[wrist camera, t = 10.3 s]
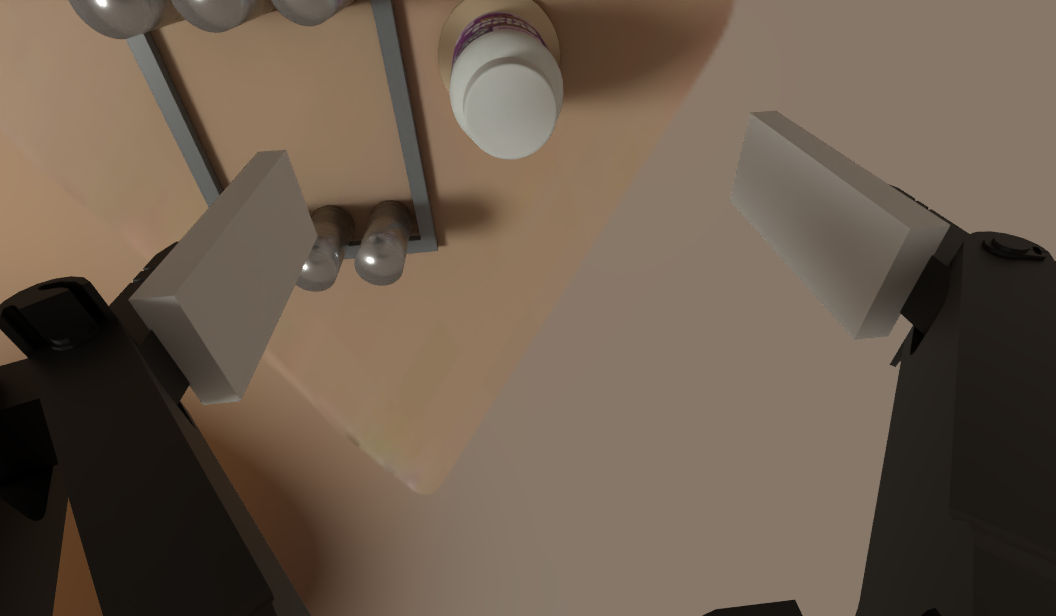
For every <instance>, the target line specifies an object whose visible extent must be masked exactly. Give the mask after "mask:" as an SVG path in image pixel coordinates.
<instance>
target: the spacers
mask: <svg viewBox="0 0 1056 616" xmlns="http://www.w3.org/2000/svg"><path fill="white" fill-rule="evenodd" d="M354 1H355V0H69V2H70V4H71V5H72V7H73V9H74V10H75V12H76V13H77V14H78V15H79V17H80V18H81V19H82V20H83V21H84V22H85V23H86V24H88V25H89V26H90V27H91V28H93V29H94V30H96V31H97V32H99V33H101V34H103V35H105V36H108V37H111V38H115V39H128V38H131V37H134V36H137V35H140V34H143V33H146V32H149V31H152V30H155V29H158V28H161V27H164V26H167V25H170V24H173V23H176V22H179V21H182V20H185V19H186V20H187V21H188V22H190V23H191V24H192V25H194V26H196V27H198V28H199V29H202V30H204V31H208V32H214V33H218V32H224V31H227V30H229V29H231V28H234V27H236V26H238V25H241V24H243V23H245V22H248V21H250V20H252V19H255V18H257V17H259V16H261V15H264V14H266V13H268V12H271V11H273V10H274V9H276V8H277V9H278V11H279V12H280V13H281V14H282V15H284V16H285V17H286V18H287V19H289V20H290V21H292V22H294V23H297V24H299V25H303V26H315V25H319V24H321V23H323V22H324V21H326V20H327V19H329V18H330V17H332V16H333V15H335V14H336V13H338V12H340V11H341V10H343V9H344V8H346V7H347V6H349V5H350V4H351V3H353V2H354ZM311 219H312V222H313V225H314V227H315V230H316V233H317V236H318V237H317V239H316V241H315V243H314V245H313V247H312V250H311V252H310V254H309V256H308V258H307V260H306V262H305V265H304V267H303V269H302V271H301V273H300V275H299V277H298V280H297V282H296V284H295V285H297V286H298V287H300V288H302V289H305V290H308V291H323V290H326V289H328V288H330V287H331V286H332V285H333V284H334V282H335V280H336V277H337V274H338V272H339V269H340V267H341V264H342V261H343V259H344V256H345V254H346V251H347V248H348V246H349V243H350V240H351V238H352V235H353V233H354V229H355V225H354V221H353V219H352V217H351V216H350V215H349V213H347V212H346V211H345V210H343V209H342V208H339V207H337V206H331V205H328V206H323V207H320V208H318V209H317V210H316V211H315V212H314V214H313V216H312V218H311ZM411 227H412V215H411V213H410V211H409V210H408V209H407V207H405V206H404V205H403V204H401V203H399V202H396V201H391V200H387V201H382V202H380V203H378V204H377V205H376V206H375V207H374V208H373V210H372V212H371V215H370V218H369V221H368V224H367V226H366V229H365V232H364V235H363V238H362V241H361V244H360V247H359V249H358V252H357V255H356V258H355V269H356V271H357V273H358V274H359V276H360V277H361V278H362V279H364V280H365V281H367V282H369V283H371V284H374V285H389V284H392V283H394V282H396V281H397V280H398V279H399V278H400V277H401V275H402V272H403V267H404V262H405V257H406V252H407V247H408V242H409V237H410V232H411Z"/></svg>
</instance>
